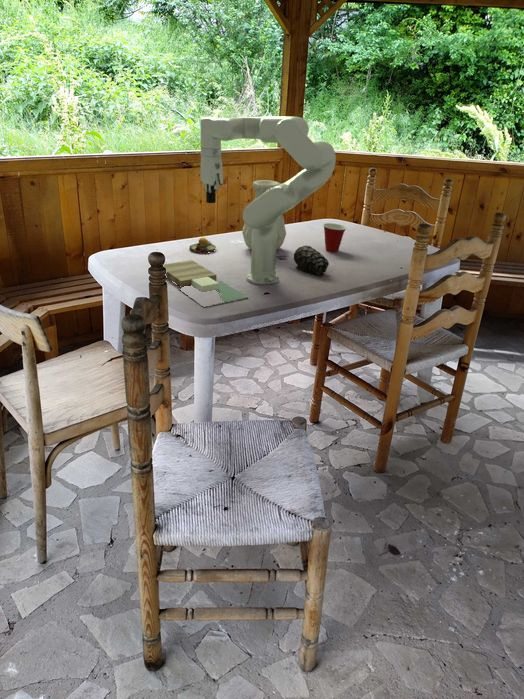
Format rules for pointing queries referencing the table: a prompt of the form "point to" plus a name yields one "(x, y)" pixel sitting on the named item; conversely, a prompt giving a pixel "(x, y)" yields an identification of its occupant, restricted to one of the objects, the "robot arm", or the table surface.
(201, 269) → the wooden board
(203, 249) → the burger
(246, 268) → the table surface
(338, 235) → the plastic cup
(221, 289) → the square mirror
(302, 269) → the pine cone
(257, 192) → the vase
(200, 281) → the tile
